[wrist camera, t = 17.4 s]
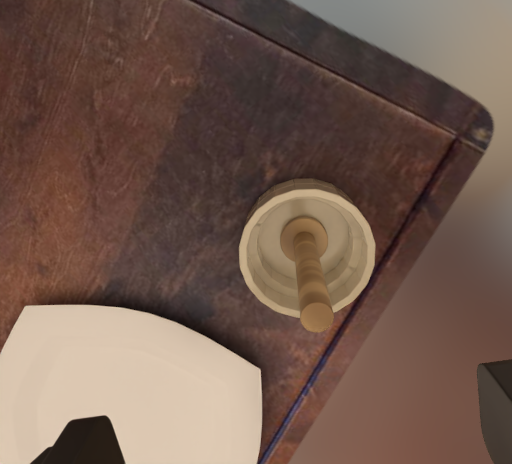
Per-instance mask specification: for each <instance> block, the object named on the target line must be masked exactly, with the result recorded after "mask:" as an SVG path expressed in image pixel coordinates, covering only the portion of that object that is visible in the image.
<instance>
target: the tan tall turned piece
mask: <svg viewBox="0 0 512 464" xmlns="http://www.w3.org/2000/svg"><path fill="white" fill-rule="evenodd" d="M280 245H281V249H282V251H283V253H284V254H285V256H286V257H287V258H289V259H290V260H291V261H293V262H295V265H296V276H297V287H298V298H299V309H300V319H301V323H302V325H303V326H304V327H305V328H306V329H307V330H309V331H311V332H322V331H325V330H327V329H328V328H329V327H330V326H331V325H332V323H333V320H334V314H333V310H332V306H331V302H330V298H329V294H328V290H327V286H326V282H325V278H324V274H323V270H322V266H321V262H320V257H322V255H323V254H324V253H325V251H326V249H327V246H328V236H327V232H326V230H325V228H324V226H323V225H322V223H321V222H319V221H318V220H317V219H315V218H313V217H310V216H298V217H295V218H293V219H291V220H290V221H288V222H287V223H286V224H285V226H284V227H283V229H282V231H281V235H280Z"/></svg>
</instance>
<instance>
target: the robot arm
mask: <svg viewBox="0 0 512 464" xmlns="http://www.w3.org/2000/svg"><path fill="white" fill-rule="evenodd" d="M477 379H478V392H479V406H480V419H481V428H482V434H483V438H484V441H485V444H486V447H487V450H488V452H489V455H490V457H491V459H492V461H493V462H494V464H512V359H511V360H503V361H497V362H490V363H482V364H479V365H478V368H477ZM30 464H126V463H125V460H124V457H123V454H122V451H121V449H120V446H119V443H118V440H117V437H116V434H115V431H114V428H113V425H112V423H111V420H110V419H109V418H108V417H107V416H106V415H102V416H94V417H87V418H80V419H73V420H71V421H69V422H68V423H67V425H66V426H65V428H64V429H63V431H62V432H61V434H60V435H59V437H58V439H57V440H56V442H55V443H54V445H53V446H52V447H47V448H46V449H45V450H44V451H43V452H42V453H41V454H40V455H39V456H38V457H37V458H35V459H34V460H33V461H32V462H31V463H30Z"/></svg>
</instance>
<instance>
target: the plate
mask: <svg viewBox="0 0 512 464" xmlns="http://www.w3.org/2000/svg"><path fill="white" fill-rule="evenodd" d="M102 415H106V416H107V417H108V418H109V419H110V420H111V423H112V425H113V428H114V431H115V434H116V437H117V440H118V443H119V446H120V449H121V451H122V454H123V457H124V460H125V463H126V464H257V460H258V455H259V450H260V442H261V430H262V386H261V369H260V368H258V367H256V366H255V365H253V364H251V363H250V362H248V361H247V360H245V359H243V358H242V357H240V356H238V355H237V354H235V353H234V352H232V351H230V350H228V349H227V348H225V347H223V346H222V345H220V344H218V343H216V342H215V341H213V340H211V339H209V338H208V337H206V336H204V335H202V334H200V333H198V332H196V331H194V330H192V329H189V328H187V327H185V326H183V325H181V324H179V323H177V322H174V321H171V320H168V319H165V318H163V317H160V316H157V315H154V314H151V313H147V312H142V311H137V310H132V309H127V308H122V307H110V306H98V305H37V306H25V307H24V309H23V311H22V313H21V314H20V316H19V318H18V320H17V322H16V323H15V325H14V327H13V329H12V331H11V333H10V335H9V337H8V339H7V341H6V343H5V345H4V347H3V349H2V351H1V353H0V464H30V463H31V462H32V461H33V460H34V459H35V458H37V457H38V456H39V455H40V454H41V453H42V452H43V451H44V450H45V449H46V448H47V447H52V446H53V445H54V443H55V442H56V440H57V439H58V437H59V435H60V434H61V432H62V431H63V429H64V428H65V426H66V425H67V423H68V422H69V421H71V420H73V419H80V418H87V417H94V416H102Z"/></svg>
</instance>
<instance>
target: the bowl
mask: <svg viewBox="0 0 512 464" xmlns="http://www.w3.org/2000/svg"><path fill="white" fill-rule="evenodd" d="M298 216H310V217H313V218H315V219H317V220H318V221H319V222H321V223H322V225H323V226H324V228H325V230H326V232H327V236H328V246H327V249H326V251H325V253H324V254H323V255H322V257H320V262H321V266H322V270H323V274H324V278H325V282H326V286H327V290H328V294H329V298H330V302H331V306H332V310H333V313H334V312H337V311H338V310H340V309H341V308H343V307H344V306H346V305H348V304H349V303H351V302H352V301H354V300H355V298H356V297H357V296H358V295H359V294H360V292H361V291H362V290H363V289H364V287H365V286H366V285H367V283H368V281H369V278H370V276H371V273H372V271H373V268H374V264H375V241H374V238H373V235H372V232H371V228H370V225H369V224H368V222H367V221H366V219H365V218H364V217H363V215H362V214H361V213H360V211H359V210H358V208H357V207H356V206H355V204H354V203H353V202H352V200H351V199H350V198H349V196H348V195H347V194H345V193H344V192H343V191H341V190H340V189H338V188H337V187H335V186H334V185H333V184H330V183H327V182H323V181H320V180H317V179H312V178H310V179H294V180H293V179H292V180H289V181H286V182H283V183H280V184H277V185H275V186H273V187H272V188H271V189H269V190H268V191H267V192H265V193H264V194H263V195H261V196H260V197H259V198H258V200H257V201H256V203H255V204H254V206H253V207H252V208H251V210H250V211H249V214H248V217H247V220H246V224H245V227H244V231H243V234H242V238H241V241H240V244H239V261H240V269H241V271H242V274H243V277H244V279H245V282H246V284H247V286H248V287H249V288H250V290H251V291H252V292H253V293H254V294H255V296H256V297H257V298H258V299H259V300H260V301H261V302H262V303H264V304H265V305H267V306H268V307H270V308H272V309H273V310H275V311H276V312H279V313H283V314H286V315H290V316H293V317H297V318H300V309H299V298H298V287H297V276H296V265H295V262H293V261H291V260H290V259H289V258H287V257H286V256H285V254H284V253H283V251H282V249H281V245H280V235H281V231H282V229H283V227H284V226H285V224H286V223H287V222H288V221H290V220H291V219H293V218H295V217H298Z"/></svg>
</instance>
